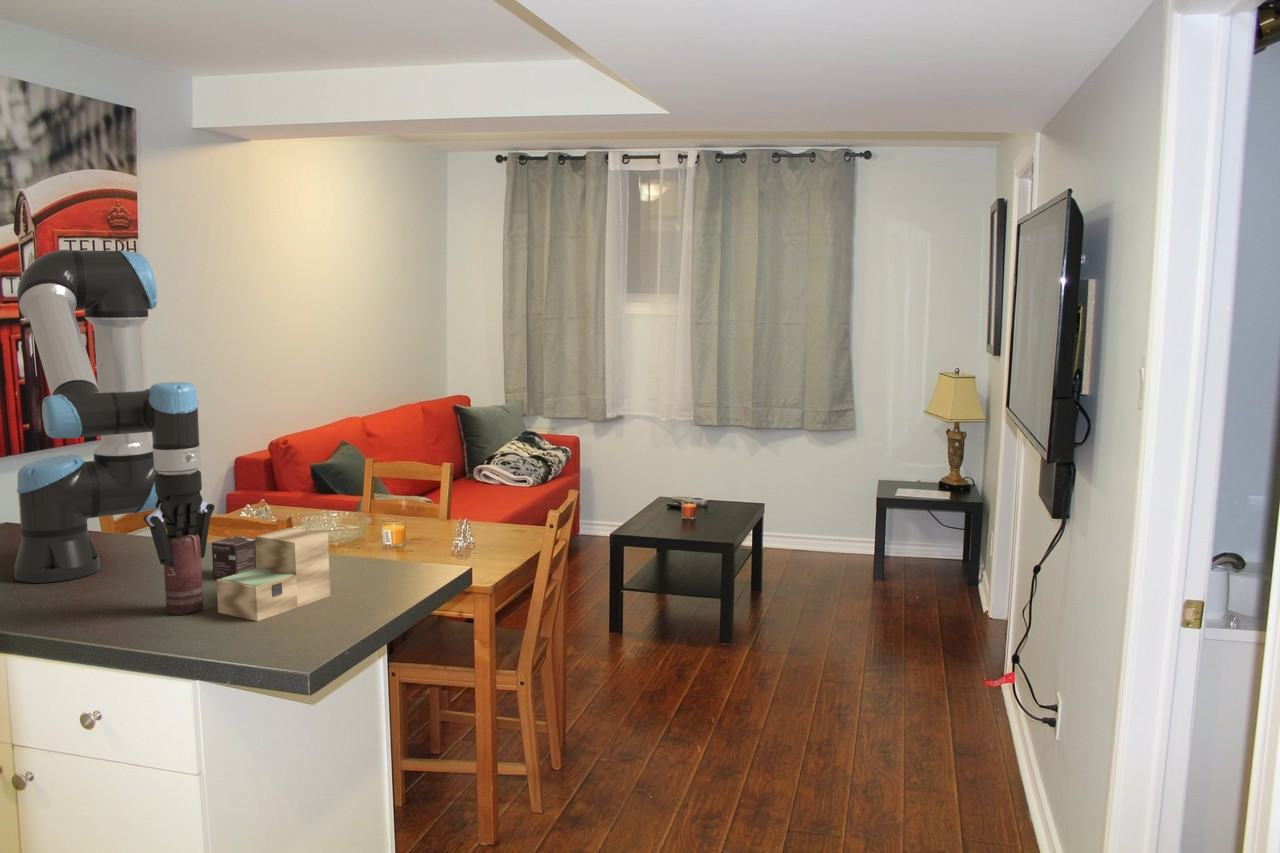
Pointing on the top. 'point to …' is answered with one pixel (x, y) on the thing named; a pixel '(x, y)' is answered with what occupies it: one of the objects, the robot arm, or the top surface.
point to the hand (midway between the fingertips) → (185, 600)
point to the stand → (278, 576)
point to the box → (233, 556)
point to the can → (184, 576)
